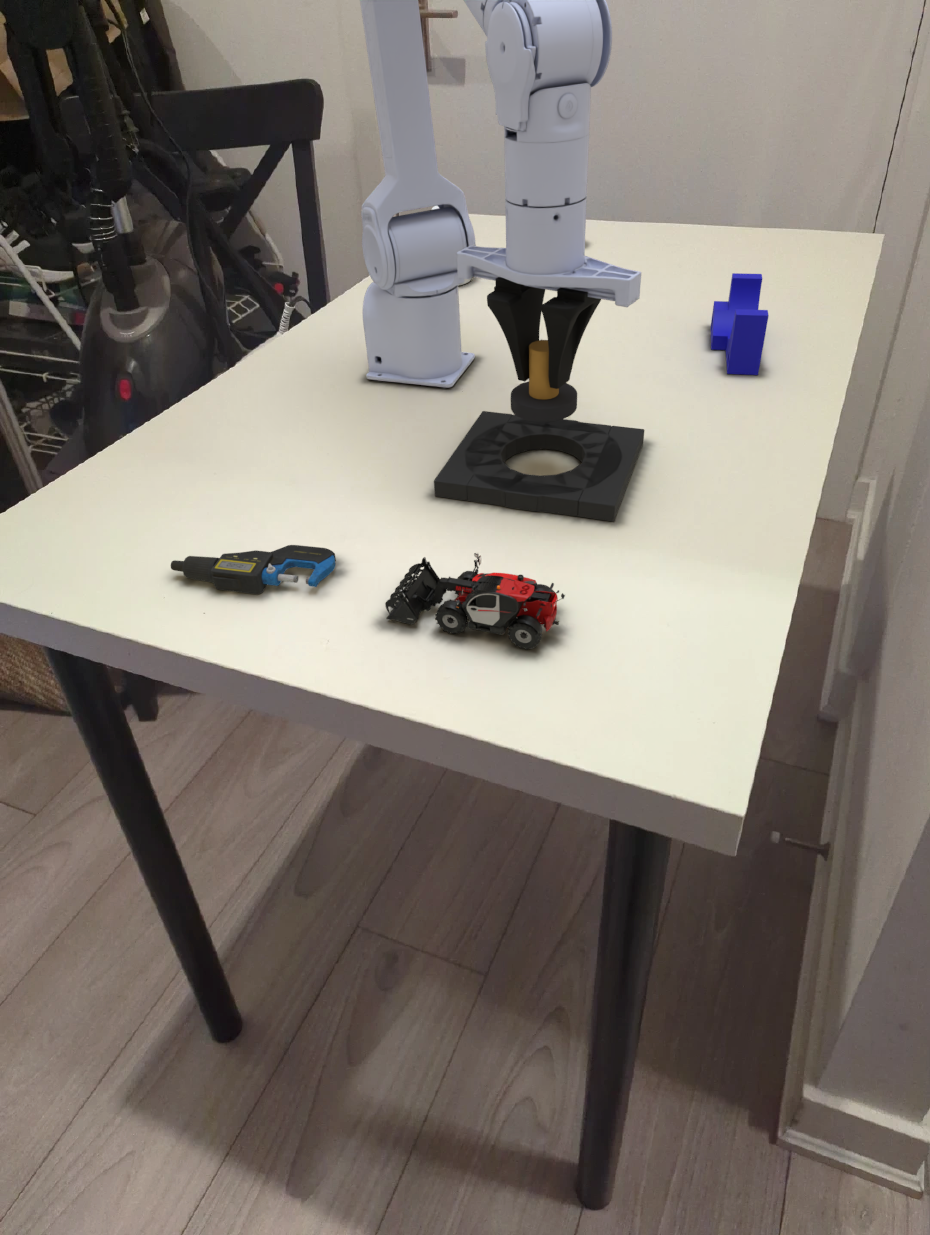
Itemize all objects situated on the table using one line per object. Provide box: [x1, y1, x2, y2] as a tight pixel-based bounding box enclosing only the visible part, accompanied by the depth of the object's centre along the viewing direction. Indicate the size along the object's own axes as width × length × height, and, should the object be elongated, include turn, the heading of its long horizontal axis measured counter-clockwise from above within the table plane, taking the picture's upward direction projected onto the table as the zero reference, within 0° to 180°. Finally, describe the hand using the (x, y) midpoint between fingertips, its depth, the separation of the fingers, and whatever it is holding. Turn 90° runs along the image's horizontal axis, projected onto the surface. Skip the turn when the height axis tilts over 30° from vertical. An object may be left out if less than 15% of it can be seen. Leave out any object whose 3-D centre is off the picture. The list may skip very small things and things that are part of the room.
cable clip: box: [710, 272, 770, 376], centre depth 90 cm, size 12×4×6 cm, turn 168°
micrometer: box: [170, 544, 337, 595], centre depth 64 cm, size 12×2×5 cm
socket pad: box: [433, 410, 645, 522], centre depth 74 cm, size 15×13×2 cm
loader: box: [385, 552, 566, 650], centre depth 58 cm, size 12×5×5 cm, turn 69°
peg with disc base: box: [510, 339, 578, 422], centre depth 70 cm, size 5×5×5 cm
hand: (543, 380), depth 70 cm, fingers closed on peg with disc base, 2 cm apart
